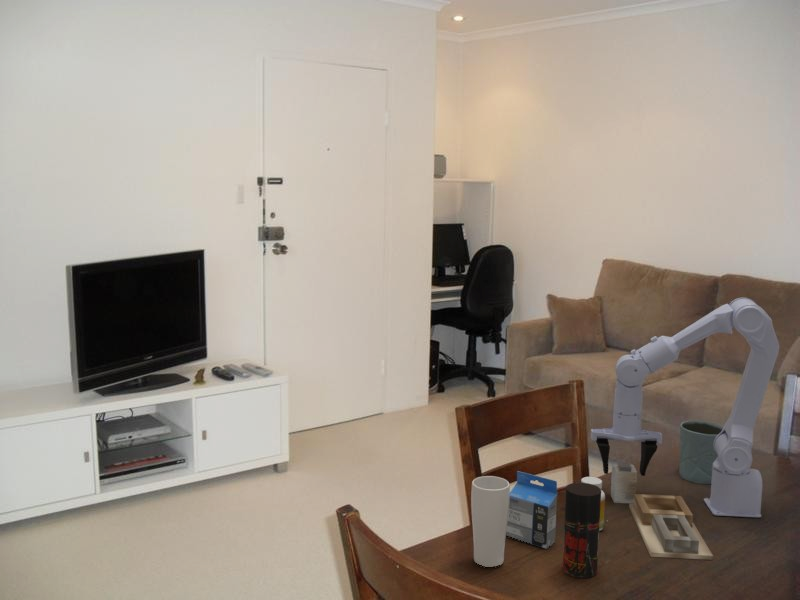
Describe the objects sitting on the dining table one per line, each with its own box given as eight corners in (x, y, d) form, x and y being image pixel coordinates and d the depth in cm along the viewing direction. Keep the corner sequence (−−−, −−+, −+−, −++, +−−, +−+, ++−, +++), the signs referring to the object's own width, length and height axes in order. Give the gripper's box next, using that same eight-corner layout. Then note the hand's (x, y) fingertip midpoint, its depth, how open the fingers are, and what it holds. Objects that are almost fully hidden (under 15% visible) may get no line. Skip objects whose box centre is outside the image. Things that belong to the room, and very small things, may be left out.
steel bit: (631, 495, 176) (633, 461, 174) (635, 503, 171) (637, 469, 170) (610, 494, 176) (612, 461, 175) (613, 502, 172) (615, 468, 170)
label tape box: (504, 537, 155) (506, 476, 153) (515, 529, 158) (517, 470, 156) (546, 550, 150) (548, 487, 148) (556, 542, 153) (558, 480, 151)
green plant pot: (673, 467, 192) (676, 419, 190) (717, 470, 191) (721, 421, 189) (681, 484, 182) (685, 432, 180) (728, 486, 181) (732, 435, 179)
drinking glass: (497, 575, 140) (500, 493, 138) (463, 564, 144) (464, 484, 141) (513, 559, 146) (516, 480, 144) (480, 550, 149) (482, 472, 147)
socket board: (683, 509, 168) (684, 494, 167) (712, 559, 146) (714, 542, 146) (629, 507, 169) (629, 492, 169) (650, 556, 147) (651, 539, 147)
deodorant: (558, 562, 145) (562, 483, 143) (590, 561, 146) (594, 482, 143) (568, 578, 139) (571, 496, 137) (601, 577, 140) (606, 495, 137)
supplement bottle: (601, 521, 162) (603, 475, 160) (605, 533, 157) (607, 486, 155) (574, 520, 163) (576, 474, 161) (577, 532, 157) (579, 484, 156)
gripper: (595, 416, 167) (591, 478, 169) (667, 419, 166) (662, 481, 168) (590, 406, 174) (587, 466, 176) (659, 409, 173) (655, 469, 175)
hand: (623, 473), depth 173 cm, fingers open, 7 cm apart
